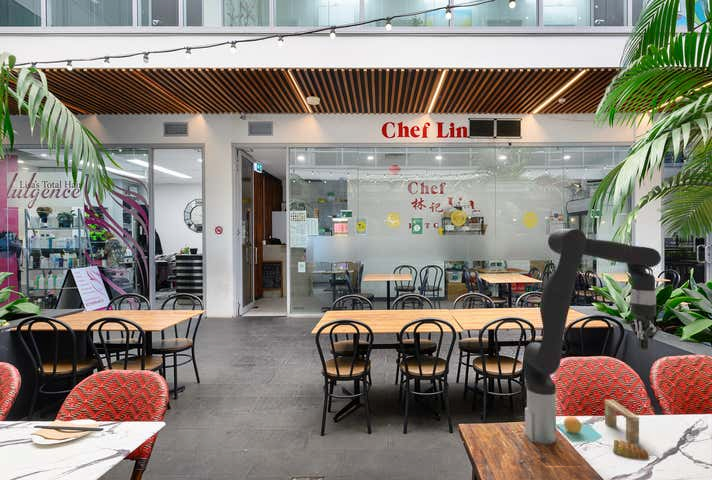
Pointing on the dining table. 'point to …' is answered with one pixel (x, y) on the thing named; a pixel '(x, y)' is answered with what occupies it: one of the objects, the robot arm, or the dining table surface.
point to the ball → (572, 425)
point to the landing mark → (581, 433)
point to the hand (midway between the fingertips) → (643, 348)
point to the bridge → (631, 418)
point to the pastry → (629, 450)
